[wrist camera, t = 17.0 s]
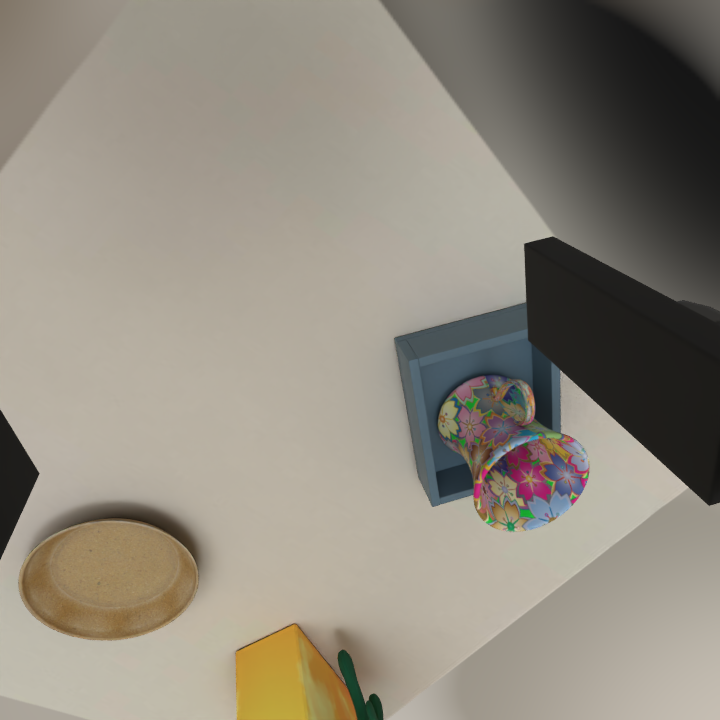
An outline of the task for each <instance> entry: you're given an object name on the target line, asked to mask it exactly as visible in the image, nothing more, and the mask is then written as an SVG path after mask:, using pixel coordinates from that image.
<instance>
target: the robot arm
mask: <svg viewBox="0 0 720 720" xmlns="http://www.w3.org/2000/svg"><path fill="white" fill-rule="evenodd" d="M524 251H525V276H526V302H527V327H528V341H529V342H531V343H532V344H533V345H534V346H535V347H536V348H537V349H538V350H539V351H540V352H541V353H543V354H544V355H545V356H546V357H547V358H548V359H549V360H550V361H551V362H552V363H554V364H555V365H556V366H557V367H558V368H559V369H560V370H561V371H562V372H563V373H564V374H566V375H567V376H568V377H569V378H570V379H571V380H572V381H573V382H574V383H575V384H576V385H578V386H579V387H580V388H581V389H582V390H583V391H584V392H585V393H586V394H587V395H588V396H590V397H591V398H592V399H593V400H594V401H595V402H596V403H597V404H598V405H599V406H601V407H602V408H603V409H604V410H605V411H606V412H607V413H608V414H609V415H610V416H611V417H613V418H614V419H615V420H616V421H617V422H618V423H619V424H620V425H621V426H622V427H623V428H625V429H626V430H627V431H628V432H629V433H630V434H631V435H632V436H633V437H634V438H636V439H637V440H638V441H639V442H640V443H641V444H642V445H643V446H644V447H645V448H646V449H648V450H649V451H650V452H651V453H652V454H653V455H654V456H655V457H656V458H657V459H658V460H660V461H661V462H662V463H663V464H664V465H665V466H666V467H667V468H668V469H669V470H671V471H672V472H673V473H674V474H675V475H676V476H677V477H678V478H679V479H680V480H681V481H683V482H684V483H685V484H686V485H687V486H688V487H689V488H690V489H691V490H692V491H694V492H695V493H696V494H697V495H698V496H699V497H700V498H701V499H702V500H703V501H704V502H705V503H707V504H708V505H709V506H710V505H713V504H716V503H720V312H719V311H717V310H715V309H713V308H711V307H708V306H704V305H700V304H696V303H692V302H688V301H684V300H682V301H678V302H676V301H674V300H672V299H671V298H669V297H667V296H665V295H663V294H661V293H659V292H657V291H655V290H653V289H651V288H650V287H648V286H646V285H644V284H642V283H640V282H638V281H636V280H635V279H633V278H631V277H629V276H627V275H625V274H623V273H621V272H619V271H617V270H615V269H613V268H612V267H610V266H608V265H606V264H604V263H602V262H600V261H598V260H596V259H595V258H593V257H591V256H589V255H587V254H585V253H583V252H581V251H580V250H578V249H576V248H574V247H572V246H570V245H568V244H566V243H564V242H562V241H561V240H559V239H557V238H555V237H549V238H545V239H541V240H537V241H533V242H529V243H525V244H524ZM38 476H39V472H38V470H37V469H36V467H35V465H34V464H33V462H32V461H31V459H30V457H29V456H28V454H27V452H26V451H25V449H24V447H23V446H22V444H21V443H20V441H19V439H18V438H17V436H16V434H15V433H14V431H13V430H12V428H11V426H10V425H9V423H8V421H7V420H6V418H5V416H4V415H3V413H2V412H1V410H0V559H1V557H2V555H3V553H4V550H5V548H6V546H7V544H8V542H9V539H10V537H11V535H12V533H13V531H14V528H15V526H16V524H17V522H18V520H19V517H20V515H21V513H22V511H23V509H24V507H25V504H26V502H27V500H28V498H29V496H30V493H31V491H32V489H33V487H34V485H35V482H36V480H37V478H38Z"/></svg>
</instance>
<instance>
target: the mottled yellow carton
mask: <svg viewBox="0 0 720 720" xmlns="http://www.w3.org/2000/svg"><path fill="white" fill-rule="evenodd" d="M338 663H339V667H340V670H341V673H342V675H343V677H344V680H345V682H346V685H347V687H346V686H345V685H344V684H343V682H342V681H341V680H340V679H339V677H338V676H337V675H336V674H335V672H334V671H333V670H332V669H331V667H330V666H329V665H328V664H327V662H326V661H325V660H324V659H323V657H322V656H321V655H320V654H319V652H318V651H317V650H316V649H315V647H314V646H313V645H312V644H311V642H310V641H309V640H308V639H307V637H306V636H305V635H304V634H303V632H302V631H301V630H300V629H299V628H298V626H297V625H295V624H294V625H291V626H289V627H287V628H285V629H283V630H281V631H279V632H277V633H275V634H272V635H270V636H268V637H266V638H264V639H262V640H260V641H258V642H256V643H253V644H251V645H249V646H247V647H245V648H243V649H241V650H239V651H237V652H236V700H237V720H383V710H382V704H381V701H380V699H379V697H378V696H377V695H376V694H371V695H370V696H369V701H367V702H366V704H365V701H364V698H363V695H362V692H361V689H360V686H359V684H358V681H357V677H356V673H355V669H354V665H353V662H352V659H351V657H350V655H349V654H348V653H347V652H346V651H345V650H341V651H340V652H339V653H338ZM347 688H348V689H347Z"/></svg>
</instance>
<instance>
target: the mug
mask: <svg viewBox="0 0 720 720" xmlns="http://www.w3.org/2000/svg"><path fill="white" fill-rule="evenodd" d="M534 415H535V400H534V396H533V393H532V390H531V388H530V387H529V385H528V384H527V383H526V382H524V381H522V380H519V379H515V380H511V379H509V378H507V377H504V376H500V375H484V376H479V377H476V378H473V379H470V380H468V381H466V382H465V383H463V384H461V385H460V386H458V387H457V388H456V389H455V390H454V391H453V392H452V393H451V394H450V395H449V396H448V397H447V399H446V400H445V402H444V403H443V405H442V407H441V410H440V412H439V416H438V431H439V435H440V437H441V439H442V441H443V442H444V444H445V445H446V446H447V447H448V448H450V449H451V450H452V451H454V452H456V453H459V454H461V455H462V456H463V457H464V459H465V460H466V461H467V463H468V465H469V467H470V470H471V473H472V476H473V483H474V494H473V495H474V505H475V508H476V510H477V513H478V514H479V516H480V517H481V518H482V520H483V521H484V522H486V523H487V524H488V525H490V526H492V527H494V528H496V529H499V530H502V531H509V532H519V531H526V530H531V529H535V528H538V527H541V526H543V525H545V524H547V523H549V522H551V521H553V520H555V519H556V518H558V517H559V516H561V515H562V514H563V513H564V512H566V511H567V510H568V509H569V508H570V507H571V506H572V505H573V504H574V503H575V502H576V500H577V499H578V498H579V496H580V495H581V493H582V491H583V490H584V488H585V485H586V483H587V480H588V476H589V460H588V456H587V453H586V451H585V450H584V448H583V447H582V446H581V444H580V443H579V442H577V441H576V440H575V439H573V438H571V437H570V436H567V435H565V434H562V433H558V432H555V431H552V430H550V429H548V428H546V427H545V426H543V425H542V424H540V423H539V422H538V421H537V420H535V419H534Z"/></svg>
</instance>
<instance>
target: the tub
mask: <svg viewBox="0 0 720 720" xmlns="http://www.w3.org/2000/svg"><path fill="white" fill-rule="evenodd" d="M395 344H396V350H397V356H398V362H399V368H400V373H401V379H402V385H403V391H404V396H405V402H406V408H407V414H408V419H409V425H410V431H411V437H412V442H413V448H414V454H415V460H416V465H417V471H418V477H419V479H420V481H421V484H422V486H423V488H424V490H425V492H426V494H427V497H428V499H429V501H430V503H431V505H432V507H434V506H438V505H440V504H444V503H447V502H450V501H454V500H457V499H460V498H464V497H467V496H471V495H473V494H474V483H473V476H472V473H471V470H470V467H469V465H468V463H467V461H466V460H465V459H464V457H463V456H462V455H461V454H459V453H456V452H454V451H452V450H451V449H450V448H448V447H447V446H446V445H445V444H444V442H443V441H442V439H441V437H440V435H439V431H438V416H439V412H440V410H441V407H442V405H443V403H444V402H445V400H446V399H447V397H448V396H449V395H450V394H451V393H452V392H453V391H454V390H455V389H456V388H457V387H458V386H460V385H461V384H463V383H465V382H466V381H468V380H470V379H473V378H476V377H479V376H484V375H500V376H504V377H507V378H509V379H511V380H515V379H519V380H522V381H524V382H526V383H527V384H528V385H529V387H530V388H531V390H532V393H533V396H534V400H535V415H534V419H535V420H537V421H538V422H539V423H540V424H542V425H543V426H545V427H546V428H548V429H550V430H552V431H555V432H558V433H561V416H560V369H559V368H558V367H557V366H556V365H555V364H554V363H552V362H551V361H550V360H549V359H548V358H547V357H546V356H545V355H544V354H543V353H541V352H540V351H539V350H538V349H537V348H536V347H535V346H534V345H533V344H532V343H531V342H529V341H528V327H527V303H524V304H521V305H517V306H513V307H509V308H506V309H502V310H498V311H494V312H490V313H487V314H483V315H479V316H475V317H472V318H468V319H464V320H460V321H457V322H453V323H449V324H445V325H442V326H438V327H434V328H430V329H427V330H423V331H419V332H415V333H412V334H408V335H404V336H400V337H397V338H395Z"/></svg>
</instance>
